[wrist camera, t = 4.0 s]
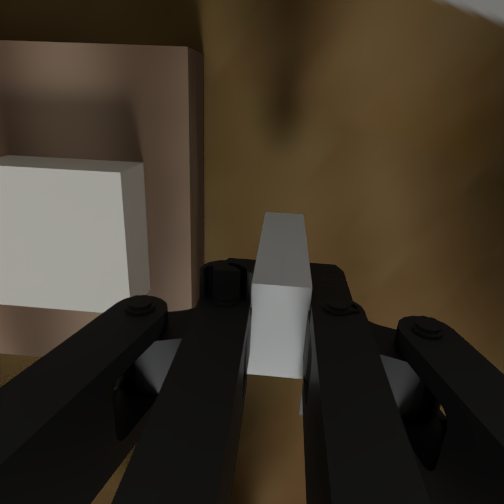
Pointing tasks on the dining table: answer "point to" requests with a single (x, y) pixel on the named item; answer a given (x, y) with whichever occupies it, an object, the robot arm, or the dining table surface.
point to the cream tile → (72, 232)
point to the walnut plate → (112, 154)
